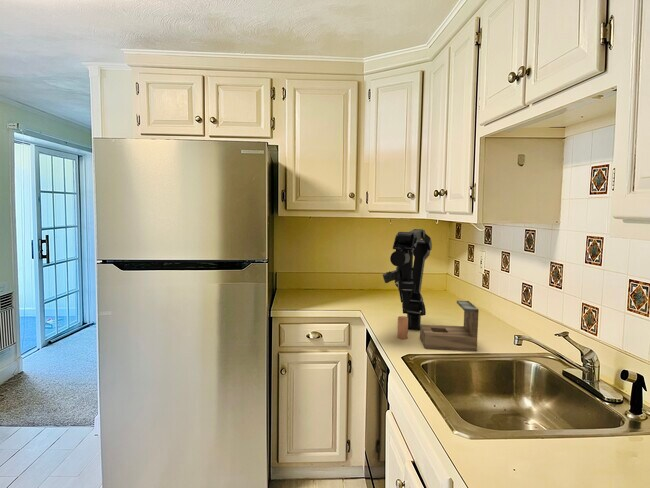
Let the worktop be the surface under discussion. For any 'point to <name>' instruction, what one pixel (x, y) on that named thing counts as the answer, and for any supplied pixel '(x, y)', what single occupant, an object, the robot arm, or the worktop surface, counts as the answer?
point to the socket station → (453, 332)
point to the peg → (402, 327)
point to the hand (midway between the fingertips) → (403, 304)
